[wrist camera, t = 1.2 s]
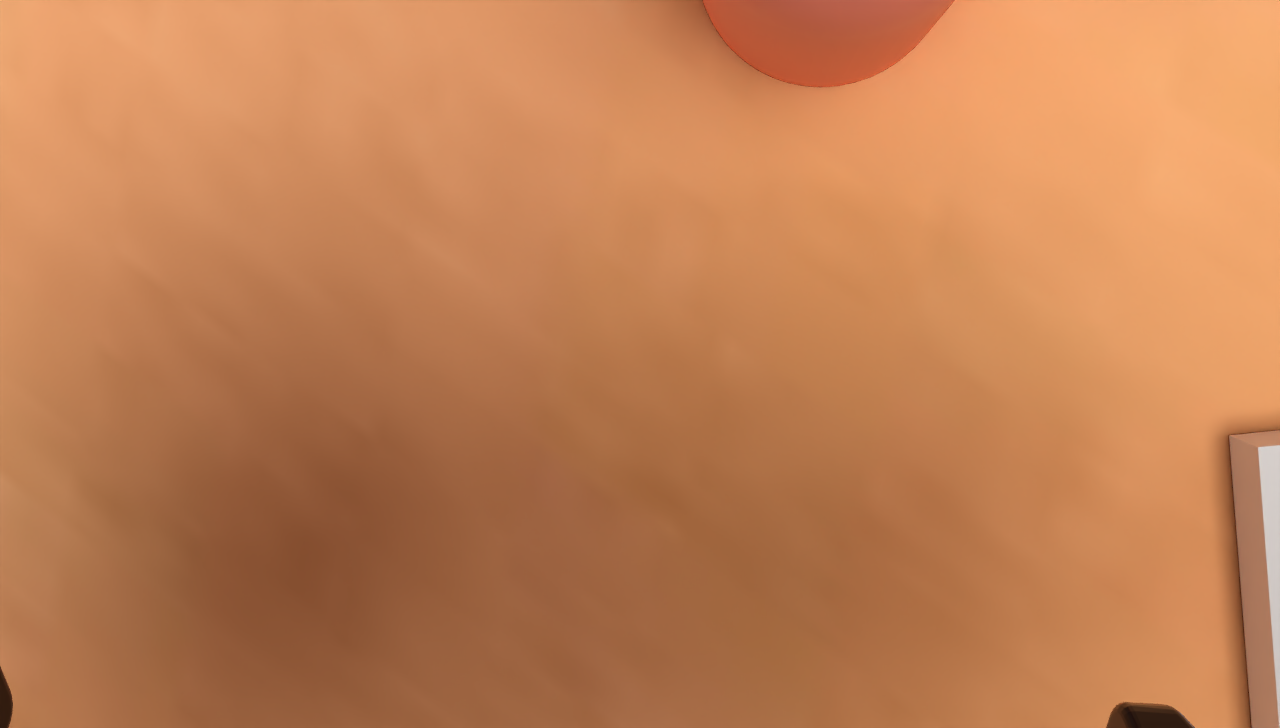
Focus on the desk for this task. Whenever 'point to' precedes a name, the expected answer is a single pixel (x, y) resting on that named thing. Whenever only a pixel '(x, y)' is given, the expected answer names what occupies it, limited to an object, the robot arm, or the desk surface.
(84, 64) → the desk surface
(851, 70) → the red plug
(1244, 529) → the plug tray
